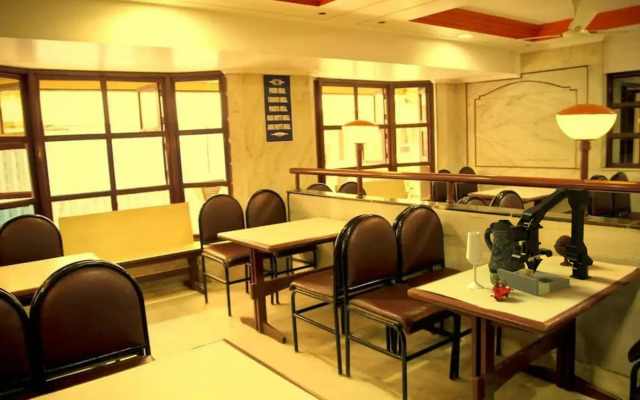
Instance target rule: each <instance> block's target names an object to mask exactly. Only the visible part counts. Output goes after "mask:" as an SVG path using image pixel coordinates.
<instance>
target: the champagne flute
mask: <svg viewBox="0 0 640 400" xmlns="http://www.w3.org/2000/svg"><path fill="white" fill-rule="evenodd" d="M465 258H466V260H467V262H469V263H470V264H471V265H472V267H473V268H472V270H473V271H472V274H473V281H472V282H471V283H470V284H468V285H467V288H469V289H475V290H476V289H478V290H479V289H482V288H483V287H484V285H482V284H481V283H479V282H477V265H478V264H480V262H481V261H482V260H483V251H482V243H481V235H480V232H479V231H469V232H467V245H466V257H465Z"/></svg>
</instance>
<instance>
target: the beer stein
mask: <svg viewBox="0 0 640 400" xmlns="http://www.w3.org/2000/svg"><path fill="white" fill-rule="evenodd" d="M510 226H515V225H514V224H513V223H512V222H511V221H510V219H499V220H498V221H495V222H494V221H493V222H491V223H490V224H489V227H487V228H486V229H485V230H484V234H483V238H484V239H483V240H484V241H485V242H484V243H485V245H486V246H487V248H488V249H489V251H490V252H491V253H490V259H489V262H488V269H489V270H488V271H489V273H490V274H497V269H503V270H506V271H510V272H516V271H519V270H520V269H525V268H526V263H518V262H514V261H511V256H512V255H513V254H515V252H512V250H511V245H513V244H517V245H520V241H519V242H510V241H509V240H508V238H507V232H508V230H509V229H510ZM491 234H492V236H493V237H492V238H491ZM518 253H520V254H522V253H521V252H518ZM516 254H517V253H516Z"/></svg>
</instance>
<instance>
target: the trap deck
mask: <svg viewBox="0 0 640 400" xmlns="http://www.w3.org/2000/svg"><path fill="white" fill-rule="evenodd" d="M497 275H498V276H499V278H500V279H502V278H503V279H506V282H507V286H506V288H510V287H511V289H514V290H517V291H519V292H523V293H525V294H528V295H532V296H535V297H537V296H542V295H545V294H549V293H552V292H556V291H560V290H564V289H568V288H570V287H571V285H570V284H571V283H570V282H571V280H570V278H567V277H563V276H559V275H556V274H552V273H549V272H544V271H542V270H538V269H536V271H535V273H534V275H533V278H530V277H527V276H524V275H520V274H519V271H516V272H510V271H506V270H503V269H497Z"/></svg>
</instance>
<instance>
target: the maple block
mask: <svg viewBox="0 0 640 400" xmlns="http://www.w3.org/2000/svg"><path fill="white" fill-rule="evenodd" d="M519 274H520V275H524V276H527V277H530V278H533V270H531V269H528V267H527V268H526V267H525V269H520V270H519Z"/></svg>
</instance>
